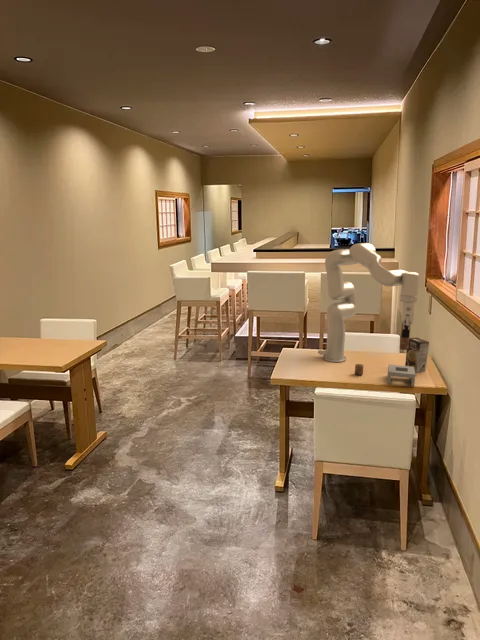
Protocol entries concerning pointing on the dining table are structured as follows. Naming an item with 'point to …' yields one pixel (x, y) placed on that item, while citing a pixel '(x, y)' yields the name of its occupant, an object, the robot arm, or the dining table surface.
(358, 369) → the short pin
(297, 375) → the dining table surface
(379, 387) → the dining table surface
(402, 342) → the long pin
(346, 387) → the dining table surface
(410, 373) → the bridge
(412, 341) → the coffee box
